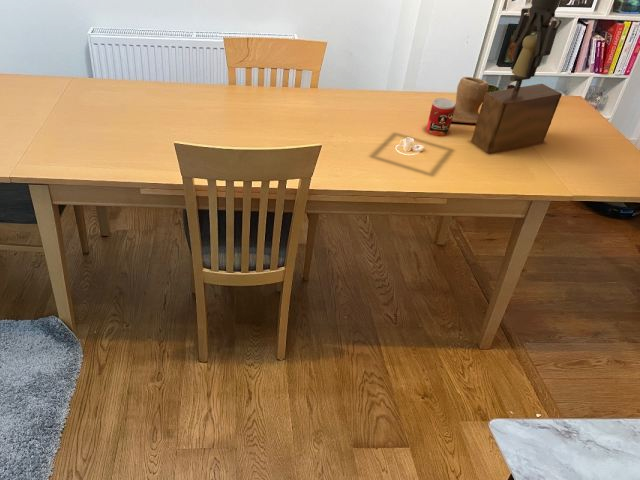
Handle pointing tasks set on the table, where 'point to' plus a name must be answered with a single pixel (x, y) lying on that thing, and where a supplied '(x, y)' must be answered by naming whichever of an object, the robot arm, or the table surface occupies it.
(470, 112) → the tan brown vase
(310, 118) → the table surface
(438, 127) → the canned food
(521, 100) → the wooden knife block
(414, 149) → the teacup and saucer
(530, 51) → the cork
